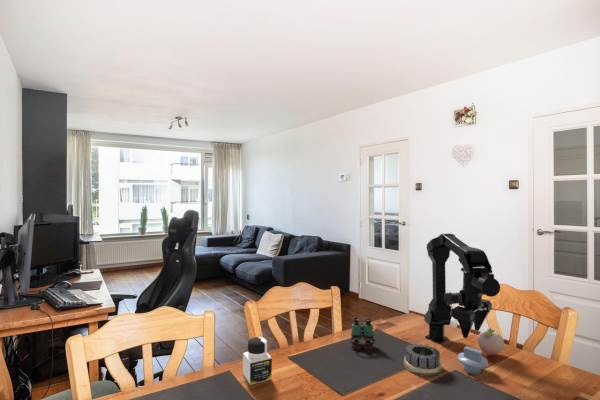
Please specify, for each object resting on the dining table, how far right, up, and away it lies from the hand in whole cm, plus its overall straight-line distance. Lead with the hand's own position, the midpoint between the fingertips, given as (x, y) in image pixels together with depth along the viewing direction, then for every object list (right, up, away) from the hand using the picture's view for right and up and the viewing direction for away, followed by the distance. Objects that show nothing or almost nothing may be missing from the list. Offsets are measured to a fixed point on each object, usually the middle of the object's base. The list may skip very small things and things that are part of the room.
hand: (471, 334), depth 117 cm
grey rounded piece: (+1, -12, 0) cm, 12 cm away
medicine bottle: (-71, -11, -6) cm, 72 cm away
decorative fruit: (+12, -12, +11) cm, 21 cm away
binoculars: (-33, -11, +15) cm, 39 cm away
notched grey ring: (-16, -12, +2) cm, 20 cm away
